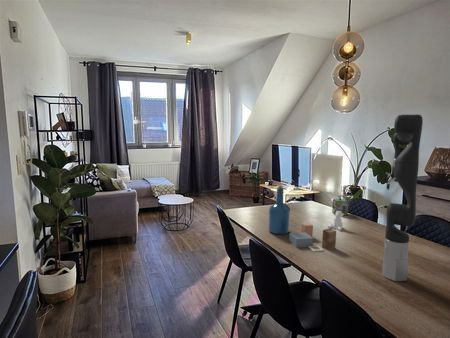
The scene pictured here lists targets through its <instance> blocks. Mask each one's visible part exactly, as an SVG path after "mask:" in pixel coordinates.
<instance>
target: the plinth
mask: <svg viewBox="0 0 450 338" xmlns="http://www.w3.org/2000/svg"><path fill="white" fill-rule="evenodd" d="M288 238H289V239H288V241H289V242H290V243H291V244H292V245H293V246H294V247H295V248H304V247H306V248H307V247H308V246H314V238H313V236H312V237H311V236H310V235H308V234H307V233H306V232H302V233H301V232H290V233H289V237H288ZM308 248H309V247H308Z"/></svg>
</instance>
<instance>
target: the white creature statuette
mask: <svg viewBox="0 0 450 338" xmlns="http://www.w3.org/2000/svg"><path fill="white" fill-rule="evenodd" d="M343 215H344V214H342V212H340V211H336V213H335V214H334V216H335V217H334V219H333V223H332V224H331V223H330V224H329V225H327V229H332V230H335V231H338V232H341V231H342V230H343V227H344V225H343V219H342V217H343Z"/></svg>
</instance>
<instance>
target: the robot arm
mask: <svg viewBox="0 0 450 338" xmlns="http://www.w3.org/2000/svg"><path fill="white" fill-rule="evenodd" d="M423 120H424V119H423V116H422V115H421V114H399V115H397V116H396V117H395V119H394V125H393V127H394V134H393V137H392V140H393V145H394V157H393V161H392V167H391V173H389V172H385V174H384V180H383V183H385V184H386V189H387V190H388V191H389V190H390V187H391V186H390V185H391V184H392V182H395V183H398V185H399V187H400V189H401V190H402V192H403V193H404V196H405V198H406V201H407V204H405V203H403V204H401V203H393V202H392V203H390V202H389V204H388V205H387V207H386V219H385V222H386V224H385V225H386V226H385V236H384V245H383V246H384V247H383V256H382V257H383V259H382V271H381V274H382V276H383V277H384V278H386V279H387V280H388V279H389V280H391V281H393V282H405V281H408V273H409V263H410V261H409V259H408V254H409V242H410V235H409V234H408V233H406V232H405V231H402V230H400V229H399V228H398V227H396V226H402V227H403V226H404V227H410V228H412V227H413V226H414V225H415V221H416V215H417V214H416V210H417V209H416V208H417V206H416V203H417V198H416V197H417V185H418V176H419V175H418V174H419V166H420V165H419V164H420V163H419V159H420V147H421V145H420V144H421V138H422V131H423V124H424V123H423ZM404 146H406V147H404ZM389 177H390V179H389V180H388V178H389ZM395 225H396V226H395Z"/></svg>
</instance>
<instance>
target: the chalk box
mask: <svg viewBox="0 0 450 338" xmlns="http://www.w3.org/2000/svg"><path fill="white" fill-rule="evenodd" d="M331 209H332V210H331V212H332V214H333V215H335V213H336V211H340V212H342V214H344V215H343V216H349V215H348V213H349V201H348V200H346V199H345V198H342V197H341V196H340V195H339V194H338V195H337V198H332V208H331ZM343 216H342V217H343Z"/></svg>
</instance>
